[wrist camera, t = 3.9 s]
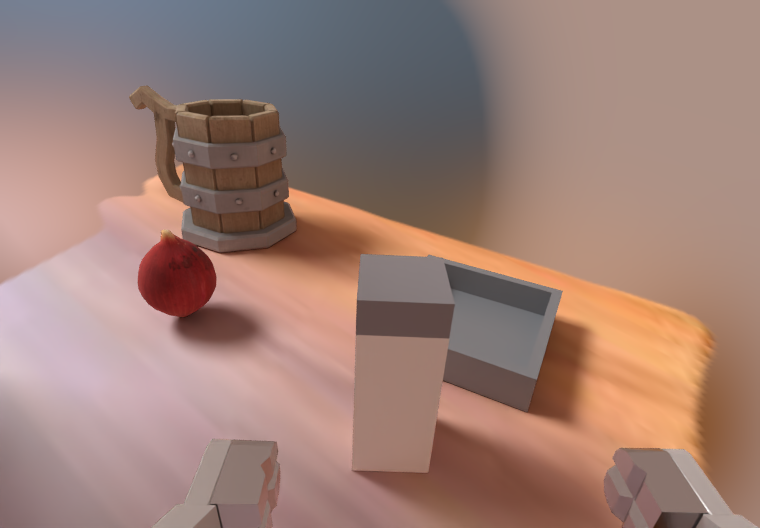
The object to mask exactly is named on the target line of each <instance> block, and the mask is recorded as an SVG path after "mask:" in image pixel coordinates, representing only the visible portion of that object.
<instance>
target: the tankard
mask: <svg viewBox="0 0 760 528" xmlns="http://www.w3.org/2000/svg"><path fill="white" fill-rule="evenodd" d="M129 98H130V100H131V102H132V104H133V105H134V107H135V108H136V109H144V108H145V107H148V108H149V109H150V110H151V111H152V112H153V113H154V118H155V127H156V135H157V142H156V153H155V162H156V166H157V171H158V175H159V178H160V180H161V182H162V183H163V185H164V187H165V189H166V191H167V193H168V194H169V196H170V197H173V198H175V199H177V200H179V201H181V202H183V203H184V204H185V205H187V206H190V208H189V209H186V210H185V211H184V212H183V220H182V229H181V230H182V236H183V239H184V240H187V241H189V242H191V243H193V244H195V245H198V246H201V247H204V248H207V249H210V250H213V251H217V252H220V253H222V252H232V251H242V250H252V249H262V248H268V247H270V246H272V245H273V244H275V243H277V242H278V241H280V240H282V239H283V238H285V237H286V236H288V235H290V234H291V233H293V232H295V231H296V230H297V228H296V219H295V216H294V214H293V211H292V209H291V207H290V204H289V203H287V202H284V200H285V199H287V198H288V197H289V190H288V179H287V177H286V175H285V172H284V171H283V168H282V162H281V158H283V157H285V156H286V155H287V152H286V136H285V135H284V133H283V131H282V130H281V128H280V126H279V113H278V111H277V110H276V108H275V107H274V105H273V104H270V103H263V102H257V101H250V100H244V101H243V100H209V101H207V100H202V101H197V102H190V103H185V104H180V105H178V106H176V105H173V104H172V103H170V102H169V101H167V100H165V99H164V98H163V97H161V96H160V95H159V94H157V93H156V92H155V91H154V90H152V89H151V88H150V87H149V86H141V87H139V88H138V89H137V90H136V91H135V92H133V93H132V94H131V95H130V96H129ZM175 122H176V124H177V128H176V129H175ZM175 155H176V160H177V161H180V162H183V166H184V171H183V173H182V180H181V181H180V179H179V177H178V175H177V173H176V168H175V164H174V157H175Z"/></svg>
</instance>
